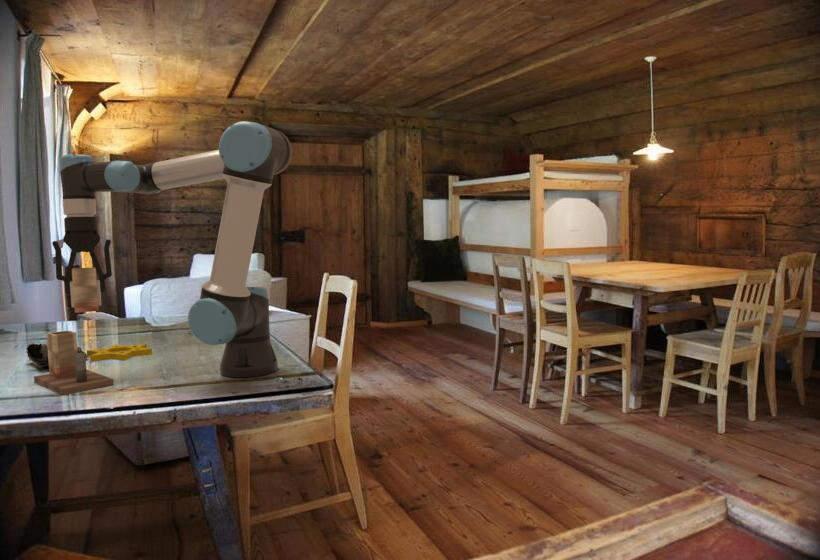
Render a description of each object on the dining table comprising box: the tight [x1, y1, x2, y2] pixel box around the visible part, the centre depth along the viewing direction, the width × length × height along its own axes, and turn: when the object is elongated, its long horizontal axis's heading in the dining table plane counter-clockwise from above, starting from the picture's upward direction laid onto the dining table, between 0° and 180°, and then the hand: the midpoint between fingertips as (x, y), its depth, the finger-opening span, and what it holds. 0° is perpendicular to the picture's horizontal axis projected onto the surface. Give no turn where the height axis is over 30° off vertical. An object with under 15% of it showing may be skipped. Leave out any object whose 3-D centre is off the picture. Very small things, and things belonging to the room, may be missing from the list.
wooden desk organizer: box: [33, 330, 114, 396], centre depth 162 cm, size 20×12×12 cm, turn 47°
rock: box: [25, 342, 90, 367], centre depth 186 cm, size 18×10×15 cm
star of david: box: [86, 343, 153, 363], centre depth 198 cm, size 20×17×2 cm
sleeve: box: [71, 266, 100, 314], centre depth 165 cm, size 5×5×11 cm
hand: (86, 305), depth 165 cm, fingers closed on sleeve, 5 cm apart
